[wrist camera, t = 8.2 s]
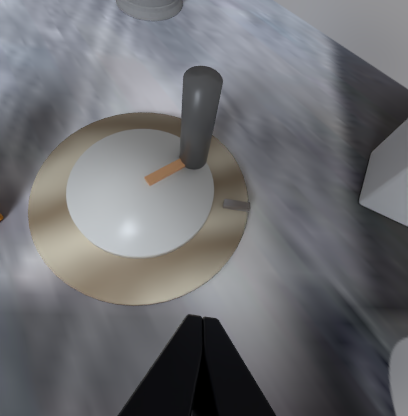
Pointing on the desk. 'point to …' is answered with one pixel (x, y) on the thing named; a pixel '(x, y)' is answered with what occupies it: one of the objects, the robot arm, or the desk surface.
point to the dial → (149, 179)
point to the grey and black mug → (150, 9)
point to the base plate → (127, 267)
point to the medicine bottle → (388, 177)
